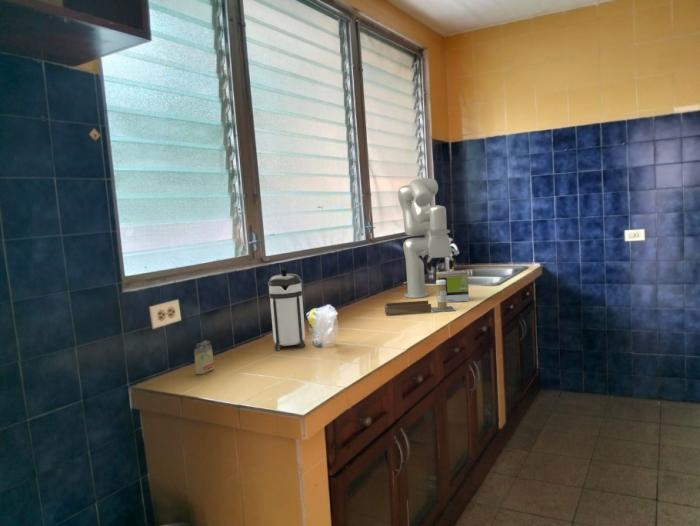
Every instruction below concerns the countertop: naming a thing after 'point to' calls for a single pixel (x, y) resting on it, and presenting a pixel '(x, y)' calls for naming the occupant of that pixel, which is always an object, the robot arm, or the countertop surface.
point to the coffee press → (287, 309)
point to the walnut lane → (407, 308)
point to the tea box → (455, 285)
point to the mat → (435, 309)
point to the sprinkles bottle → (441, 294)
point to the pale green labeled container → (204, 358)
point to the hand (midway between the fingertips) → (440, 269)
